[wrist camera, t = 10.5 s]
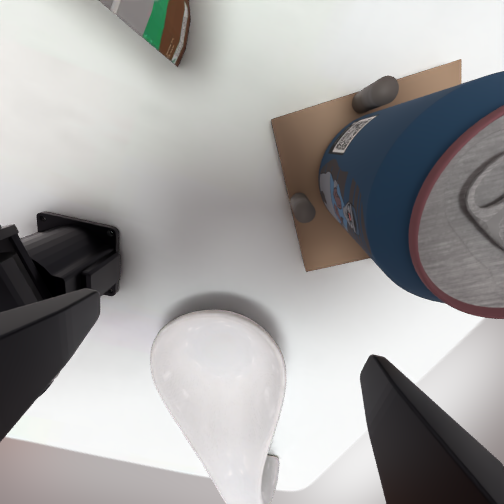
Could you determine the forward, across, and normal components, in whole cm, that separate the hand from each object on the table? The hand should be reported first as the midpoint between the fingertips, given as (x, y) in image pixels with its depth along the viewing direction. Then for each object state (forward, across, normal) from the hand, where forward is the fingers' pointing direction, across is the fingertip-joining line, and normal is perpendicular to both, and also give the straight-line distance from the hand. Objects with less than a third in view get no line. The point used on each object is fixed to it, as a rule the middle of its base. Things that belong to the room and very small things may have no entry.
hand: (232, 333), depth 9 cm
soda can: (+12, -6, -5) cm, 15 cm away
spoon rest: (+14, -2, +18) cm, 23 cm away
